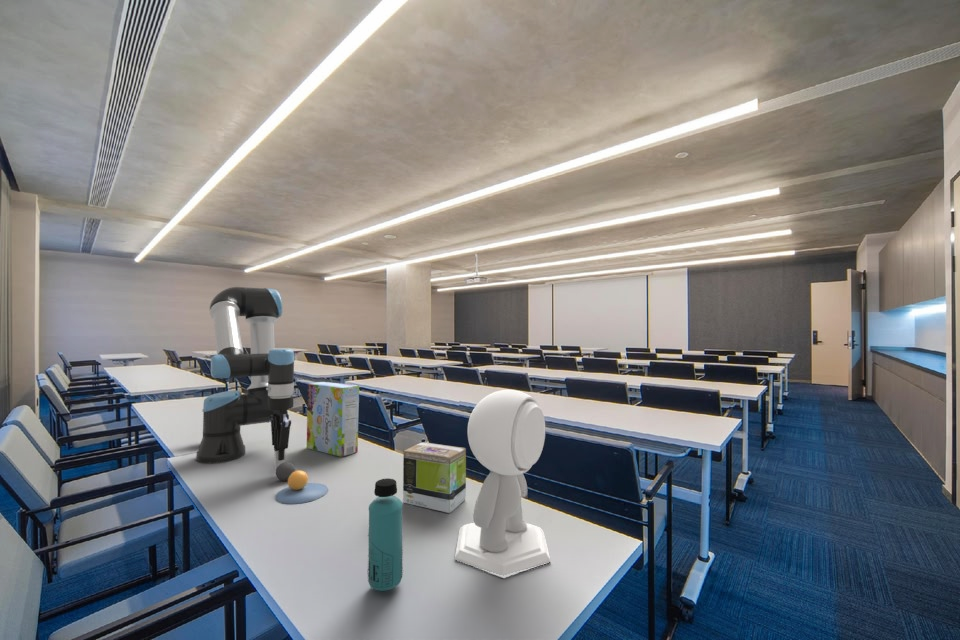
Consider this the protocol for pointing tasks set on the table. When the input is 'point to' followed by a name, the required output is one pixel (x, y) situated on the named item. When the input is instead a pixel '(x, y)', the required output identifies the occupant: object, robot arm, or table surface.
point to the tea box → (434, 476)
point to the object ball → (297, 480)
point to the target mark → (302, 494)
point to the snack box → (333, 418)
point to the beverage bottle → (385, 537)
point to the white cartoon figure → (504, 484)
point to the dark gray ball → (284, 471)
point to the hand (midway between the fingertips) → (279, 469)
